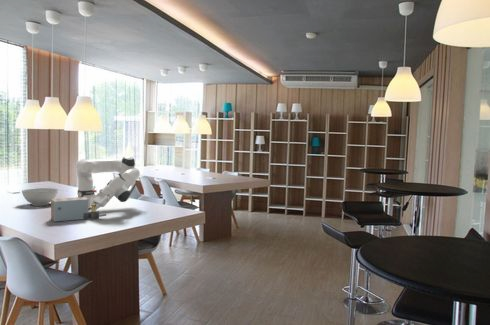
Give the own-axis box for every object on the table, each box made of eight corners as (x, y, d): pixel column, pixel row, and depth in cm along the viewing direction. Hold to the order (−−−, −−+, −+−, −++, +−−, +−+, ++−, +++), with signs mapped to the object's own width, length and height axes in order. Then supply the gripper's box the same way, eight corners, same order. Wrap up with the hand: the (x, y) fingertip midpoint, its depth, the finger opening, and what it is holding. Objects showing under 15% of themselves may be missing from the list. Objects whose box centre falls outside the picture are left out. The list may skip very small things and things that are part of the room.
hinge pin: (93, 217, 276) (93, 203, 276) (97, 218, 275) (97, 204, 274) (90, 218, 273) (90, 204, 273) (93, 219, 272) (93, 204, 271)
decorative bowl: (54, 201, 342) (54, 187, 341) (61, 205, 321) (61, 191, 320) (19, 203, 325) (19, 189, 324) (24, 208, 304) (24, 193, 303)
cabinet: (84, 216, 281) (84, 196, 280) (88, 218, 273) (88, 198, 272) (51, 219, 268) (51, 199, 267) (53, 221, 260) (53, 201, 259)
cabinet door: (87, 218, 272) (87, 198, 272) (88, 218, 270) (88, 199, 269) (53, 221, 260) (53, 201, 259) (54, 221, 258) (54, 201, 257)
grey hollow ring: (97, 216, 279) (97, 210, 279) (100, 218, 273) (100, 212, 273) (82, 218, 273) (82, 212, 272) (84, 220, 267) (84, 213, 267)
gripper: (114, 198, 272) (100, 213, 266) (105, 195, 288) (92, 209, 283) (108, 192, 269) (93, 208, 264) (99, 189, 285) (85, 203, 280)
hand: (92, 208), depth 273 cm, fingers open, 8 cm apart
